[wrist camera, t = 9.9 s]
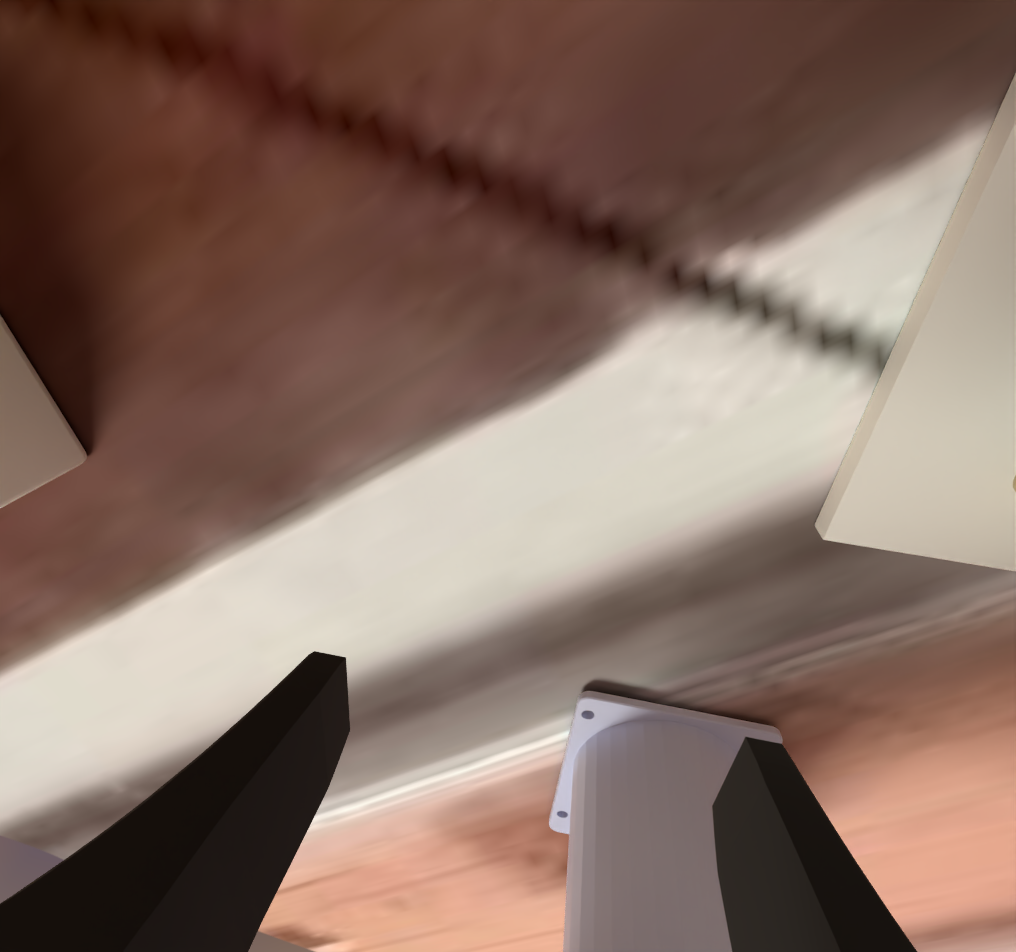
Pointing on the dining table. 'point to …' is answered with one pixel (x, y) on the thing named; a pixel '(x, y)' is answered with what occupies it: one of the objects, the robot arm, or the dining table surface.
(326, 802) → the dining table surface
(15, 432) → the medicine bottle
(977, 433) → the cream peg board
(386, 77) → the dining table surface
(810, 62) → the dining table surface
